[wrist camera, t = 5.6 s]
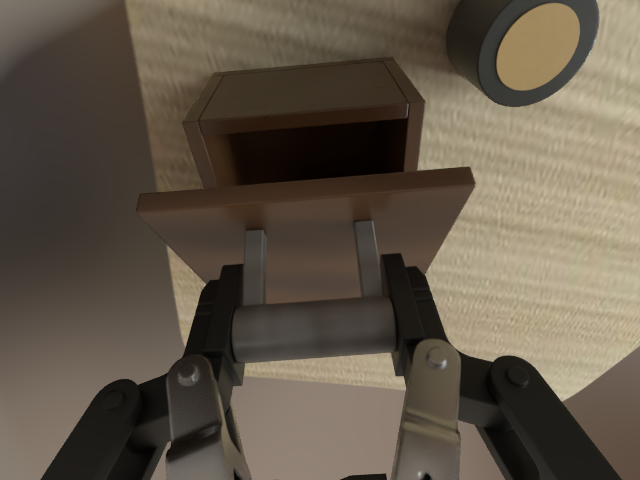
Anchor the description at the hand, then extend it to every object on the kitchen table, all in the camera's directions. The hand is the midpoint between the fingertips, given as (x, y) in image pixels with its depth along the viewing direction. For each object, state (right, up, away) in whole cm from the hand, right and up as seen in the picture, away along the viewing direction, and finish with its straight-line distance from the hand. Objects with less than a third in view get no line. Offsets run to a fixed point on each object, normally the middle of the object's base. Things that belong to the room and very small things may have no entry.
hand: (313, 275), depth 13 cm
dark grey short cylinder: (+11, +14, +7) cm, 19 cm away
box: (0, +7, +13) cm, 15 cm away
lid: (0, 0, +5) cm, 5 cm away
